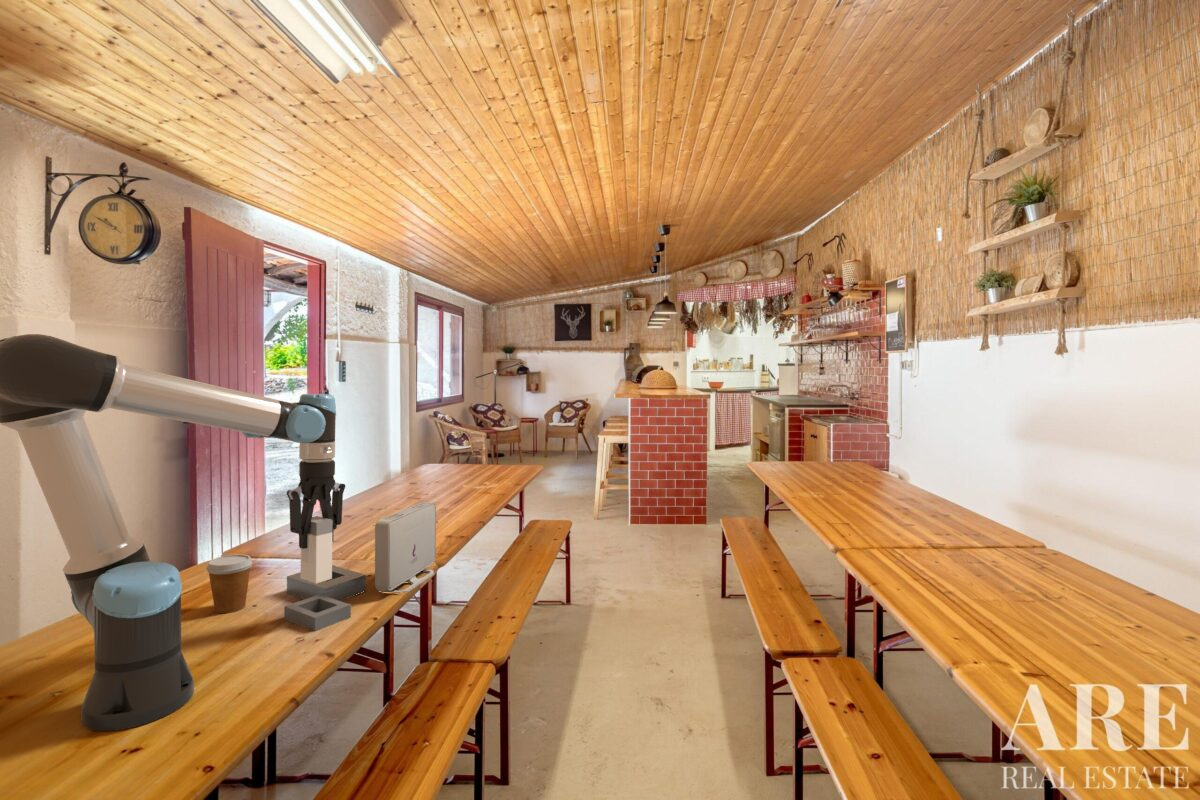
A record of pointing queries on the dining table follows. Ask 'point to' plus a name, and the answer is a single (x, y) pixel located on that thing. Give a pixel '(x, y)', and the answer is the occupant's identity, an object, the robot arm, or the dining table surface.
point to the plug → (319, 551)
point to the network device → (405, 547)
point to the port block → (328, 585)
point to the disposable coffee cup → (229, 581)
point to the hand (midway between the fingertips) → (316, 558)
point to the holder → (329, 612)
